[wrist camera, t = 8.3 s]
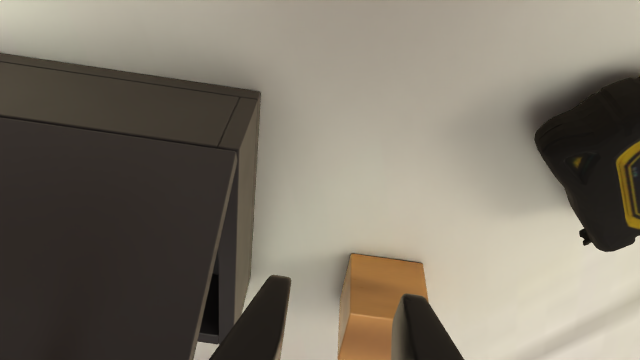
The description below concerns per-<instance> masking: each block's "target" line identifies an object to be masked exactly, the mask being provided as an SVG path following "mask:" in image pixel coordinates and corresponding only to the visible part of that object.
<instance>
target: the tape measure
mask: <svg viewBox="0 0 640 360" xmlns="http://www.w3.org/2000/svg"><path fill="white" fill-rule="evenodd" d="M534 140H535V143H536V146H537V149H538V151H539V152H540V154H541V156H542V158H543V159H544V161H545V162H546V164H547V165H548V167H549V168H550V170H551V171H552V173H553V174H554V175H555V177H556V178H557V179H558V180H559V182H560V183H561V184H562V185H563V186H564V188H565V191H566V194H567V197H568V200H569V202H570V205H571V207H572V209H573V210H574V212H575V214H576V215H577V217H578V219H579V220H580V222H581V224H582V225H583V227H584V229H582V230H580V231H579V234H580V237H583V238H584V241H583V245H584V246H585V245H588V244H589V243H591V242H592V243H593V244H594V245H595V247H596V248H598V249H599V250H602V251H605V252H611V251H616V250H618V249H621V248H623V247H626V246H628V245H631V244H633V243H634V242H635V238H636V237H637V236H639V235H640V77H639V78H628V79H624V80H621V81H618V82H615V83H613V84H611V85H608V86H606V87H604V88H602V90H601V91H600V92H599V93H596V94H593V95H591V96H590V97H589V98H587V99H586V100H585V101H584V102H582V103H581V104H580V105H578V106H577V107H575V108H574V109H572V110H570V111H568V112H566V113H563V114H560V115H558V116H555V117H553V118H552V119H550V120H548V121H547V122H545V123H544V124H543V125H542V126H541V127H540V128H539V129H538V130H537V131H536V133H535V138H534Z"/></svg>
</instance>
